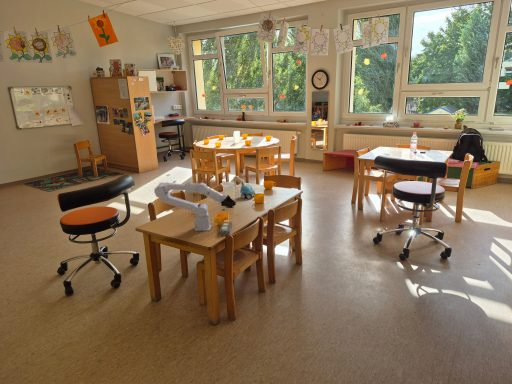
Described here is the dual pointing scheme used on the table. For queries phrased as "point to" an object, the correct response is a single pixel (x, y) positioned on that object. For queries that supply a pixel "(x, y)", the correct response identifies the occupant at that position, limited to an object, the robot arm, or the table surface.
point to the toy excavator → (245, 189)
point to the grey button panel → (226, 231)
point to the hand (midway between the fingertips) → (233, 205)
